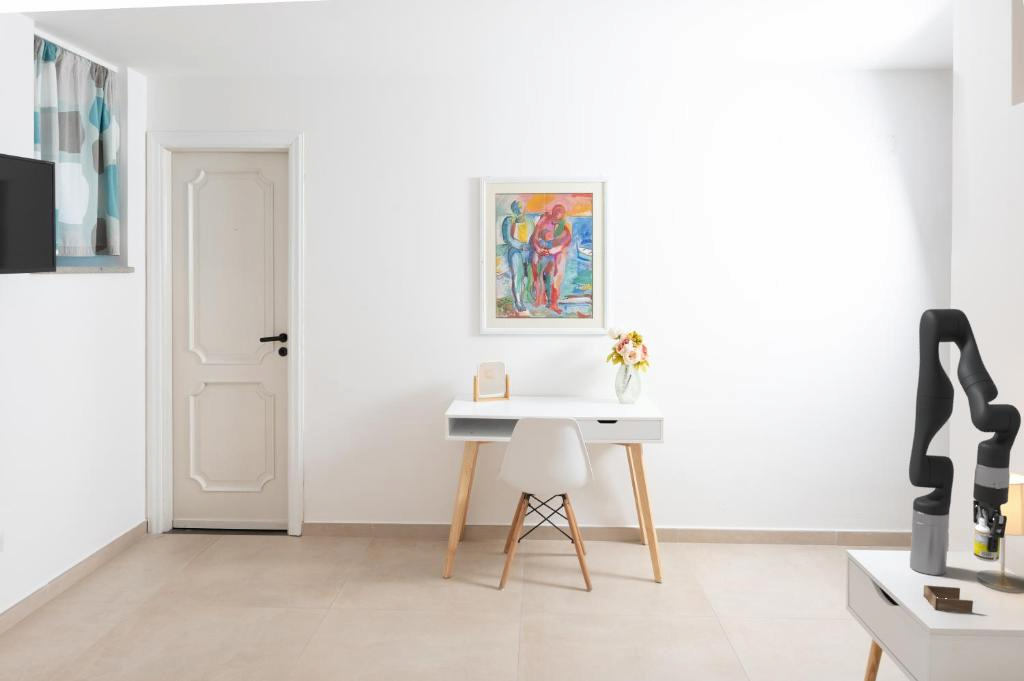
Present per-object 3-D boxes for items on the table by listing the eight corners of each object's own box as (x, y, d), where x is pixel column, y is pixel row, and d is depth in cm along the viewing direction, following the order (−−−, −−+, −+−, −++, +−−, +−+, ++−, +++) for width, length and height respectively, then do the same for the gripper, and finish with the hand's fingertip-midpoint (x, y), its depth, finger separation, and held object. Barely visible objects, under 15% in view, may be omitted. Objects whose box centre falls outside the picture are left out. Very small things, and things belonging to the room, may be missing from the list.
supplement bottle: (988, 554, 203) (991, 515, 202) (1003, 562, 198) (1006, 522, 197) (968, 554, 203) (970, 516, 202) (983, 563, 197) (986, 523, 196)
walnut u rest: (923, 596, 207) (924, 585, 207) (958, 598, 206) (959, 587, 206) (935, 610, 199) (936, 598, 199) (972, 612, 197) (972, 601, 197)
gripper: (963, 474, 206) (959, 536, 207) (987, 489, 192) (982, 556, 193) (995, 475, 205) (990, 538, 206) (1021, 491, 190) (1016, 558, 192)
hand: (986, 546), depth 200 cm, fingers closed on supplement bottle, 5 cm apart
